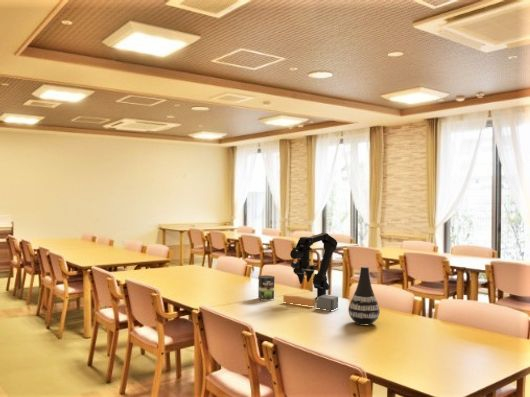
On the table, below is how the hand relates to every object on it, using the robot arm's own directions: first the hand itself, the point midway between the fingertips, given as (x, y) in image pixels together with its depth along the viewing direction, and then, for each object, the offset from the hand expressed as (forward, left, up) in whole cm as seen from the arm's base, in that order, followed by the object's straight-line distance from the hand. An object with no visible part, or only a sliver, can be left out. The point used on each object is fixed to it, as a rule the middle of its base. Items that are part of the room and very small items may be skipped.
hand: (304, 282), depth 298 cm
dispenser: (+8, +19, -12) cm, 24 cm away
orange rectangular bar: (+8, +1, -12) cm, 15 cm away
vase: (+26, +48, -12) cm, 56 cm away
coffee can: (+6, -24, -12) cm, 27 cm away
